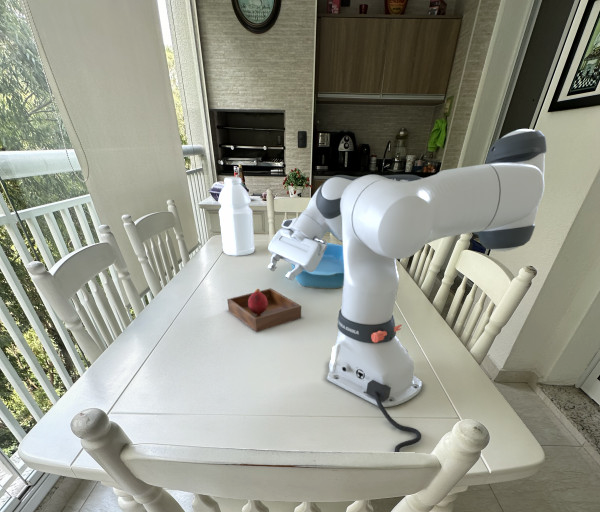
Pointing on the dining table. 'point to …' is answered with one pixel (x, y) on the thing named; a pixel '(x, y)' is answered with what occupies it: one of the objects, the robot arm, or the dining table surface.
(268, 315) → the tray
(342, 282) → the casserole dish
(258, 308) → the onion
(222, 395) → the dining table surface
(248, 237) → the bottle
